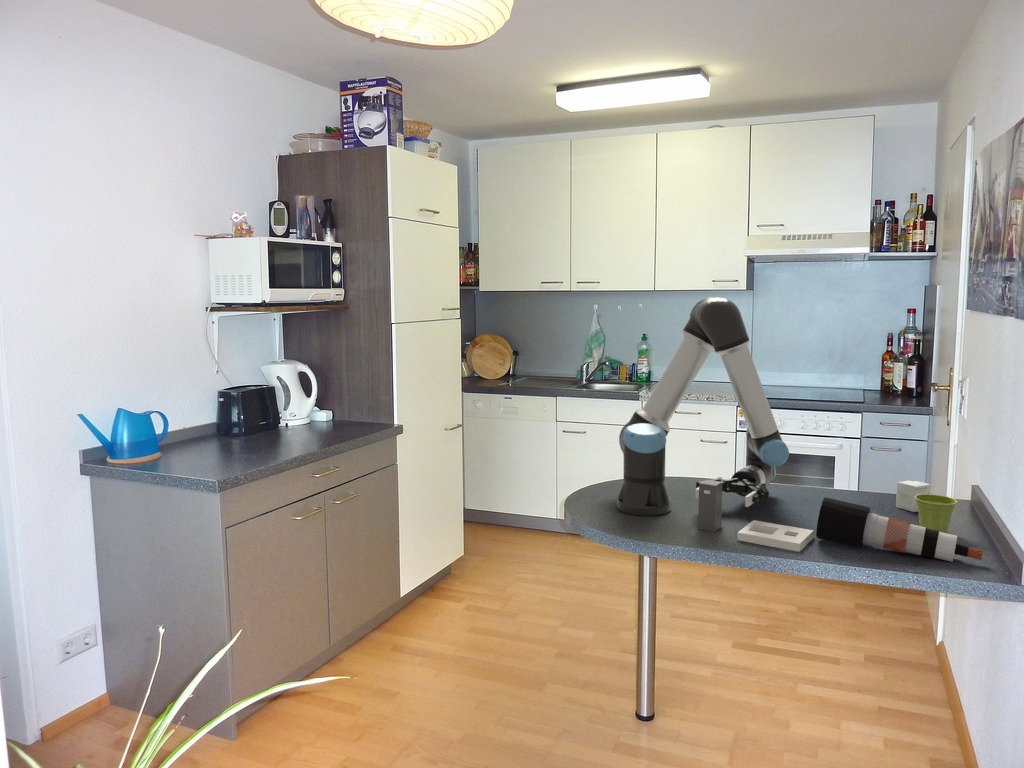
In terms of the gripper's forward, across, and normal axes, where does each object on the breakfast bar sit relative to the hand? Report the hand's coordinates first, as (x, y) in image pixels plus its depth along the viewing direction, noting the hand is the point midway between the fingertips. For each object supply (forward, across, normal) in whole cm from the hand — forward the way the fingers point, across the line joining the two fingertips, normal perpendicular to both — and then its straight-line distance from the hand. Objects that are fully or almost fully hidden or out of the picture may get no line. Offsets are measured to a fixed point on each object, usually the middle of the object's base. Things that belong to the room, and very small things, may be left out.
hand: (721, 498), depth 202 cm
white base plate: (+5, -16, -7) cm, 18 cm away
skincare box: (-42, -40, -7) cm, 59 cm away
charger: (+5, +1, -7) cm, 9 cm away
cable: (-1, -42, -7) cm, 43 cm away
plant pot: (-22, -47, -7) cm, 53 cm away
